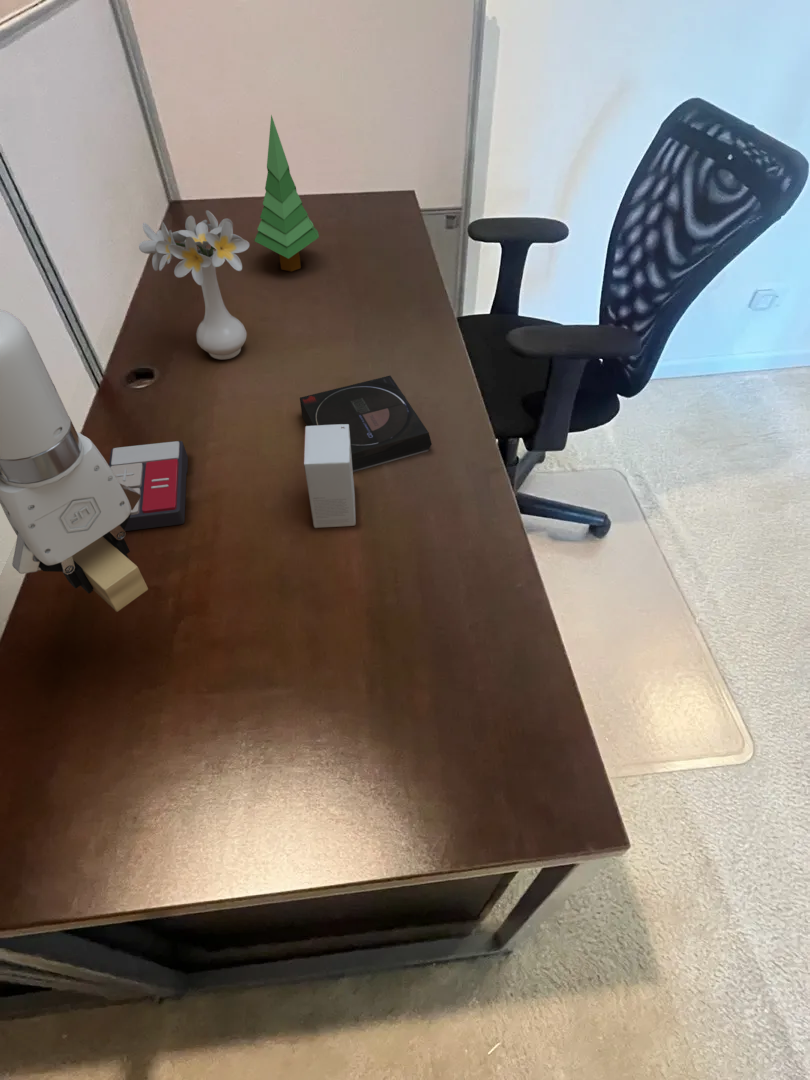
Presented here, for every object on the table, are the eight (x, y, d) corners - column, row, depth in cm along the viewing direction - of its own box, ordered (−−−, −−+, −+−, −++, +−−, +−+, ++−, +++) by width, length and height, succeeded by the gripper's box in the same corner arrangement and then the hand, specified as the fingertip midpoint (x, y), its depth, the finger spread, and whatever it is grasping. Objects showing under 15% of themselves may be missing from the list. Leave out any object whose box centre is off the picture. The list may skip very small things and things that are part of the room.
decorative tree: (319, 247, 156) (305, 99, 133) (323, 281, 146) (308, 127, 123) (260, 251, 155) (236, 102, 132) (260, 285, 144) (233, 130, 122)
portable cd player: (431, 450, 110) (432, 431, 107) (332, 477, 106) (330, 459, 103) (393, 393, 120) (393, 374, 117) (302, 416, 116) (299, 397, 113)
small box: (313, 490, 104) (304, 424, 94) (354, 488, 104) (349, 422, 94) (312, 529, 99) (303, 464, 89) (355, 527, 99) (350, 461, 89)
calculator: (99, 517, 95) (109, 444, 104) (109, 536, 98) (118, 463, 107) (178, 508, 96) (181, 436, 105) (185, 527, 100) (188, 455, 109)
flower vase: (183, 331, 133) (146, 200, 114) (275, 334, 132) (253, 203, 113) (163, 370, 124) (120, 236, 105) (261, 374, 124) (236, 239, 105)
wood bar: (148, 589, 73) (137, 566, 70) (117, 612, 71) (104, 590, 68) (92, 539, 78) (79, 516, 75) (60, 559, 76) (46, 536, 73)
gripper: (-37, 519, 55) (52, 640, 68) (138, 419, 63) (185, 545, 77) (-78, 477, 58) (14, 601, 72) (93, 388, 66) (146, 514, 80)
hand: (102, 571), depth 74 cm, fingers closed on wood bar, 4 cm apart
